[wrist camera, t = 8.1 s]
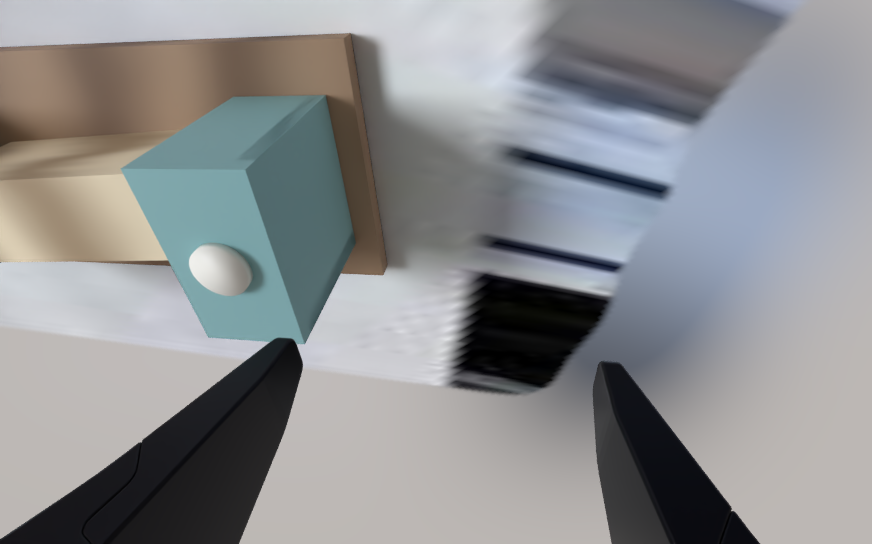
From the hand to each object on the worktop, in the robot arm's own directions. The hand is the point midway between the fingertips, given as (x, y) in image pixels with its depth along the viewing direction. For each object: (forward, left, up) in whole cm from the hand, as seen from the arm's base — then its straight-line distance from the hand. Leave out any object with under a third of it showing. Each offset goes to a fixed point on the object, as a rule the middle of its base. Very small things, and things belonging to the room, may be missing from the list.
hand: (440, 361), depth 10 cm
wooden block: (+15, 0, -9) cm, 18 cm away
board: (+15, 0, -10) cm, 18 cm away
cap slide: (+7, 0, -9) cm, 12 cm away
